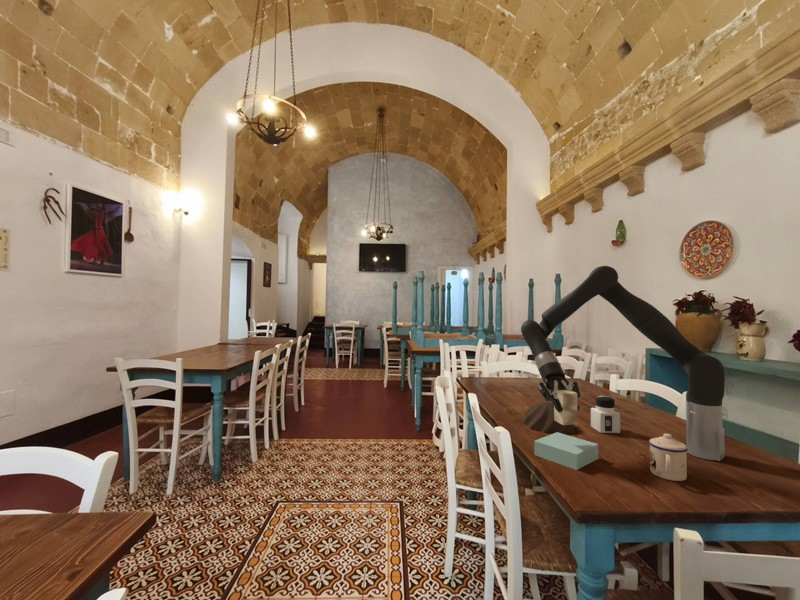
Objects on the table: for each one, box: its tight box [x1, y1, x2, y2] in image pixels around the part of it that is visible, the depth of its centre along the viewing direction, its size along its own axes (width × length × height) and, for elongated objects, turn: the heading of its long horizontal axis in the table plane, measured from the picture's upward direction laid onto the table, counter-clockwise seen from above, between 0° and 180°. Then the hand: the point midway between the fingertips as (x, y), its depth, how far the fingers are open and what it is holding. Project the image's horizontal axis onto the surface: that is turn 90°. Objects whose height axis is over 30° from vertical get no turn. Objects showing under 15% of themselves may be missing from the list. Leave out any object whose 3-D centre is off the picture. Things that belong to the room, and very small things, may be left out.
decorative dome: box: [522, 401, 575, 434], centre depth 150 cm, size 19×20×10 cm
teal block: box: [533, 432, 599, 471], centre depth 119 cm, size 14×14×5 cm
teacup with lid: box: [648, 433, 688, 482], centre depth 105 cm, size 12×9×12 cm
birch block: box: [554, 390, 578, 426], centre depth 119 cm, size 5×5×10 cm
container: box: [590, 395, 621, 434], centre depth 146 cm, size 8×8×13 cm
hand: (569, 410), depth 118 cm, fingers closed on birch block, 5 cm apart
